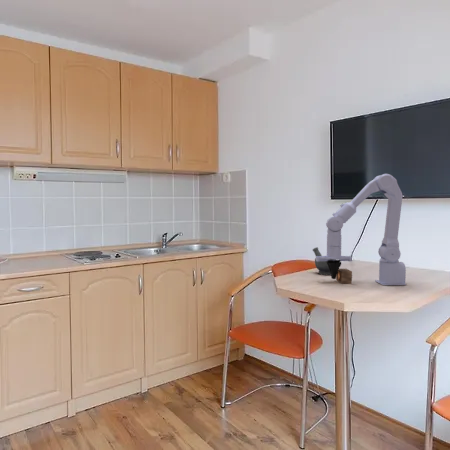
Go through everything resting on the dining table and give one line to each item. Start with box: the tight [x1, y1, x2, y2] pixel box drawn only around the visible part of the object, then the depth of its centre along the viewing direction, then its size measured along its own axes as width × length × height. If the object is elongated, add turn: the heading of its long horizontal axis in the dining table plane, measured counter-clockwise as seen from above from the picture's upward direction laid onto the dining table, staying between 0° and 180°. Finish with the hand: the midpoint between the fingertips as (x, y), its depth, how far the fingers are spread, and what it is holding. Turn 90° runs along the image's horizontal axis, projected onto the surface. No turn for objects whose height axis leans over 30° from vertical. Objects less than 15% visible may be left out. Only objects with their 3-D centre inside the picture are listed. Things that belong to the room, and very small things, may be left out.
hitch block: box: [336, 268, 353, 285], centre depth 162 cm, size 4×7×5 cm, turn 1°
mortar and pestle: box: [312, 247, 337, 276], centre depth 181 cm, size 11×9×12 cm
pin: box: [335, 271, 341, 281], centre depth 162 cm, size 6×4×4 cm, turn 91°
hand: (333, 278), depth 162 cm, fingers closed
